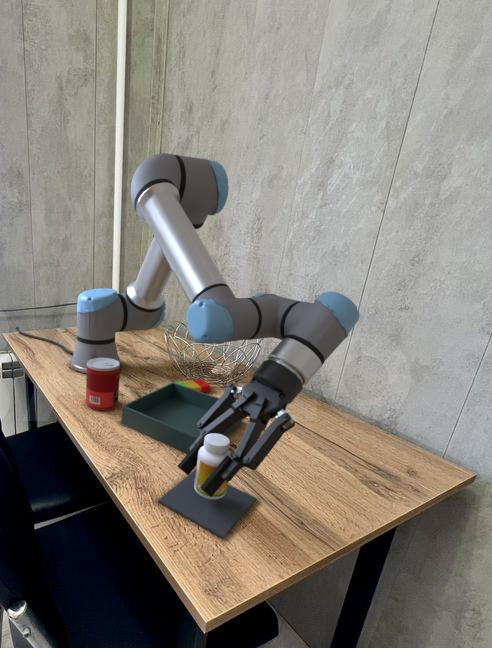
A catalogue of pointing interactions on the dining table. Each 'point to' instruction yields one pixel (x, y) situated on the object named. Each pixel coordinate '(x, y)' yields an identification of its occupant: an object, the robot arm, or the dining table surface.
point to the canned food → (102, 383)
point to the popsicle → (196, 385)
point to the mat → (208, 506)
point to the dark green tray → (171, 415)
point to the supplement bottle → (211, 462)
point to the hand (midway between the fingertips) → (193, 481)
